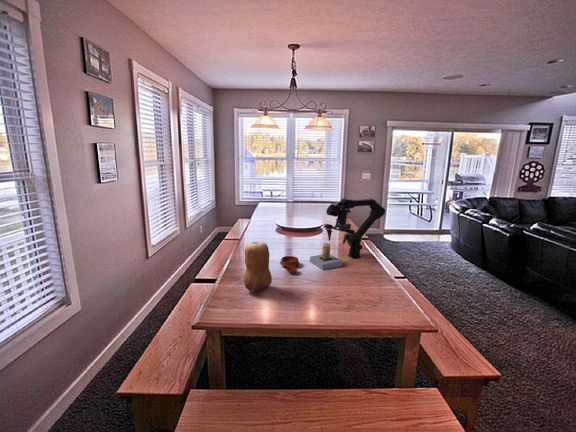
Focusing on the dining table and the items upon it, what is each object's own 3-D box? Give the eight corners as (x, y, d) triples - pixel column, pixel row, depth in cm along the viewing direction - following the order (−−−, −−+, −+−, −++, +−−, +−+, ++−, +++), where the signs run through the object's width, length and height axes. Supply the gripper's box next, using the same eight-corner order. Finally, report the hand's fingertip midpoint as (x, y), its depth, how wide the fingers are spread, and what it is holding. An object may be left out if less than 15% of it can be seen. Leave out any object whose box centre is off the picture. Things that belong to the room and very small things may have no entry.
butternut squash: (257, 281, 155) (258, 236, 149) (277, 290, 146) (277, 242, 141) (237, 291, 144) (237, 242, 138) (257, 300, 136) (257, 249, 130)
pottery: (298, 262, 183) (298, 255, 182) (302, 275, 164) (303, 268, 163) (279, 262, 182) (279, 255, 181) (281, 276, 163) (281, 268, 162)
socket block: (328, 258, 190) (328, 253, 189) (341, 266, 178) (342, 260, 177) (309, 261, 184) (310, 256, 183) (322, 270, 172) (322, 264, 171)
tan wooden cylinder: (328, 262, 183) (329, 243, 180) (330, 265, 179) (331, 245, 176) (320, 262, 183) (322, 243, 180) (322, 265, 178) (324, 246, 175)
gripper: (331, 215, 175) (325, 240, 174) (360, 222, 177) (354, 247, 177) (326, 215, 186) (320, 239, 185) (353, 221, 188) (348, 245, 188)
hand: (336, 242), depth 184 cm, fingers open, 9 cm apart
